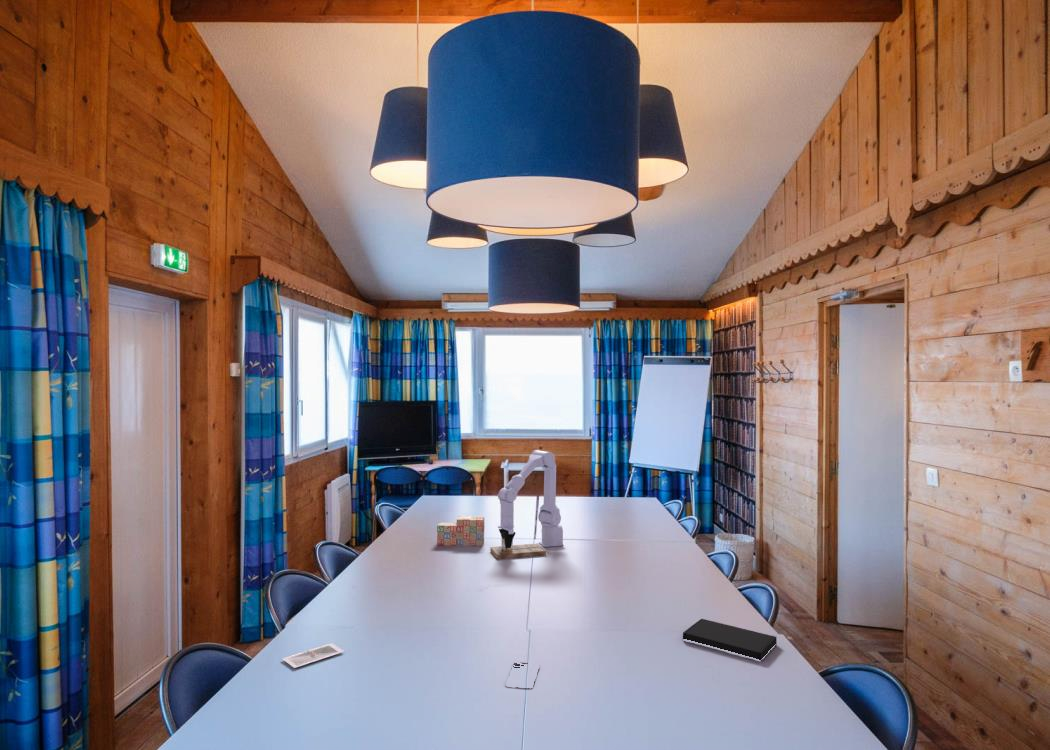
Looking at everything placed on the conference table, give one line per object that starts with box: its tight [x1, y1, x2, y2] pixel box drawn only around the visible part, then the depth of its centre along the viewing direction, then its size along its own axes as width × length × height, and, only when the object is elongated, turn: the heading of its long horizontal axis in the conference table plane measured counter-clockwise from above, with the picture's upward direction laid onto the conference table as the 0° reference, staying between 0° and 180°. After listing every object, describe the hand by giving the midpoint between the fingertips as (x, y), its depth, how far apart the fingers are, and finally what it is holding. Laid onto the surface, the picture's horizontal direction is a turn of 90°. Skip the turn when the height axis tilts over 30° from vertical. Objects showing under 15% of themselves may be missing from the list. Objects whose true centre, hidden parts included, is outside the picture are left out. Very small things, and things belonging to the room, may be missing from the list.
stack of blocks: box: [436, 516, 485, 547], centre depth 305 cm, size 21×6×12 cm, turn 86°
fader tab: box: [501, 537, 514, 551], centre depth 288 cm, size 4×4×5 cm
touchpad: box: [281, 642, 345, 669], centre depth 186 cm, size 8×15×2 cm, turn 134°
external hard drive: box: [682, 618, 778, 660], centre depth 196 cm, size 14×23×3 cm, turn 52°
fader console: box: [489, 543, 547, 560], centre depth 290 cm, size 22×12×3 cm, turn 106°
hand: (507, 546), depth 288 cm, fingers closed on fader tab, 4 cm apart
